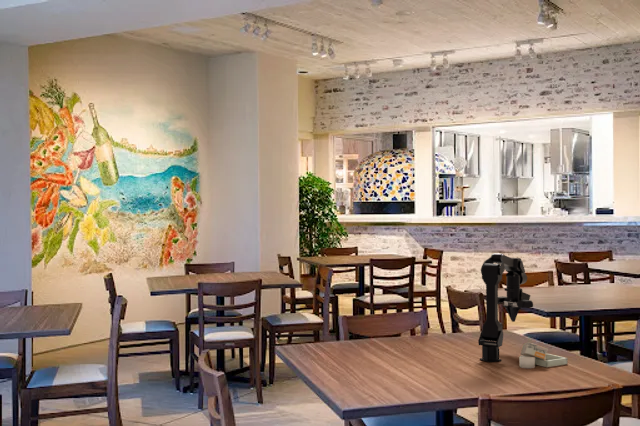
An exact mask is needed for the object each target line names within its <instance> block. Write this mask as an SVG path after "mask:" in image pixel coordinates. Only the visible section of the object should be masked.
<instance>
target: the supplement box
mask: <svg viewBox="0 0 640 426" xmlns="http://www.w3.org/2000/svg"><path fill="white" fill-rule="evenodd" d="M548 350H549V348H547V347H544V346H541V345H539V344H536V343H532V342H529V341H528V342H525V343H523V344H522V348H521V351H520V356H522V355H529V356H534V357H535V358H538V359H542V360H546V354H548Z"/></svg>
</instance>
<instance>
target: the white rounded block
mask: <svg viewBox="0 0 640 426" xmlns="http://www.w3.org/2000/svg"><path fill="white" fill-rule="evenodd" d="M518 361H519V366H518V367H519V368H522V369H534V368H536V364H535V357H534V356H529V355H519V359H518Z"/></svg>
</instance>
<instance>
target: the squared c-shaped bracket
mask: <svg viewBox="0 0 640 426" xmlns="http://www.w3.org/2000/svg"><path fill="white" fill-rule="evenodd" d="M536 365H537V366H540V367H544V368H550V367H556V366H557V367H558V366H564V365H565V366H566V365H568V357H564V356H561V355H560V356H559V355H555V354H551V353H547V354H546V358H545V360H542V359H538V358H535V366H536Z"/></svg>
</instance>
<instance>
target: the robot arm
mask: <svg viewBox="0 0 640 426" xmlns="http://www.w3.org/2000/svg"><path fill="white" fill-rule="evenodd" d="M504 272H506V274H505V277H506V288H505V287H504V291H505V292H506V296H499V286H498V285H499V284H500V282H501V281H502V279H503V274H504ZM480 274H481V279H482V281H483V283H484V284H485V296H486V297H485V304H486V306H485V308H486V309H485V310H486V311H485V313H486V315H485V316H486V317H485V319H486V320H485V321H484V323H483V324H482V329H481V332H480V335H479V338H478V342H477V343H478V346H481V348H482V349H481V350H482V352H481V357H480V358H479V360H480V361H484V362H487V363H494V362H495V363H496V362H501V361H502V359H500V348H501V347H502V346H503V342H504V331H503V327H504V326H503V323H502V322H500V320H499V304H500V303H504V304H503V305H502V306H503V307H504V309H505V311H506V312H507V315H508V316H509V319H510V321H511V322H512V323H514V322H516V319H517V316H518V314H519V312H520V310H521V309H526V308H533V307H534V302H533V301H532V300H531V295H530V294H528V293H526V292H523V288H521V285H523V284H525V283H527V281H528V276H527V274H526V270H525V265H524V262H523V260H522V258H520V257H509V256H507V255H505V254H503V253H492V254H491V255H490V257H489V258H487V259H486V260H484V262H483V263H482V265H481V267H480ZM499 347H500V348H499Z"/></svg>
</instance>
